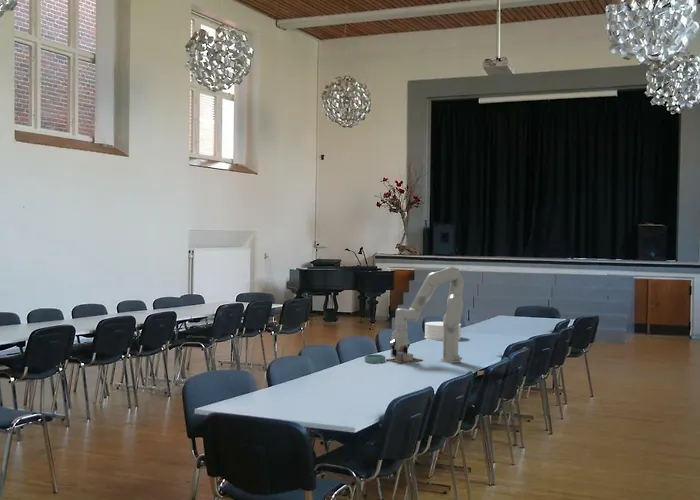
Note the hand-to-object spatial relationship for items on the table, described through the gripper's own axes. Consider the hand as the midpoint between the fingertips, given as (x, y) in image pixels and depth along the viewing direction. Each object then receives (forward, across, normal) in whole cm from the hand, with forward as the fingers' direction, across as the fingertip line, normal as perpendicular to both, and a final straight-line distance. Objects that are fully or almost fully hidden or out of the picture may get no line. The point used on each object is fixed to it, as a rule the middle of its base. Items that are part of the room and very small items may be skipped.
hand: (399, 355), depth 475 cm
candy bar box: (+4, -12, -12) cm, 17 cm away
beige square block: (+3, -1, +7) cm, 8 cm away
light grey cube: (+3, 0, 0) cm, 3 cm away
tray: (+4, -1, +4) cm, 5 cm away
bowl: (+4, +15, -6) cm, 17 cm away
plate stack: (+3, -104, -59) cm, 120 cm away
